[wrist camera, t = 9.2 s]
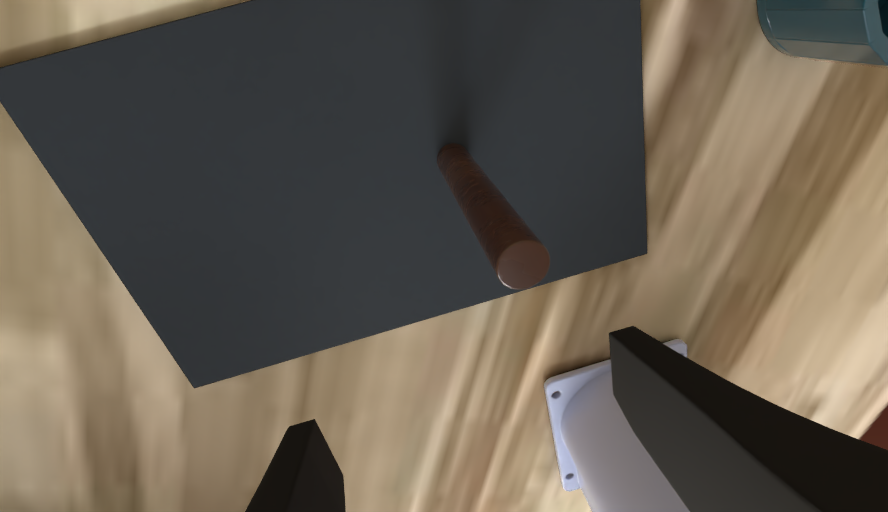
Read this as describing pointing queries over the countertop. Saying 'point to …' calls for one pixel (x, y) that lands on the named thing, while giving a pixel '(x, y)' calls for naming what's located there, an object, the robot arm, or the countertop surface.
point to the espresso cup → (828, 29)
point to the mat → (337, 160)
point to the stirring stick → (494, 221)
